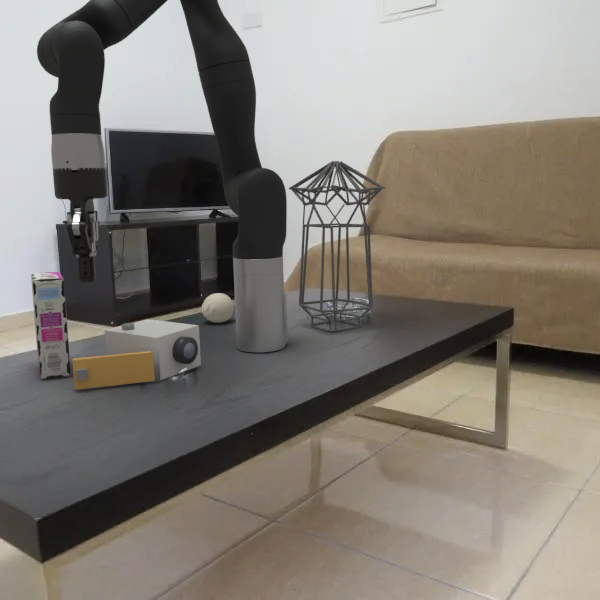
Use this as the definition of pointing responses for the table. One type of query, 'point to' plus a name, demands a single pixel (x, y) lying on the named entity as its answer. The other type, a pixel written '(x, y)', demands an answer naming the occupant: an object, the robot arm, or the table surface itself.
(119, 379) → the side door
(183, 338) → the block
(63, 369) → the candy bar box
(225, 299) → the cream round ball
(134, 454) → the table surface
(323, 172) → the geometric lantern
